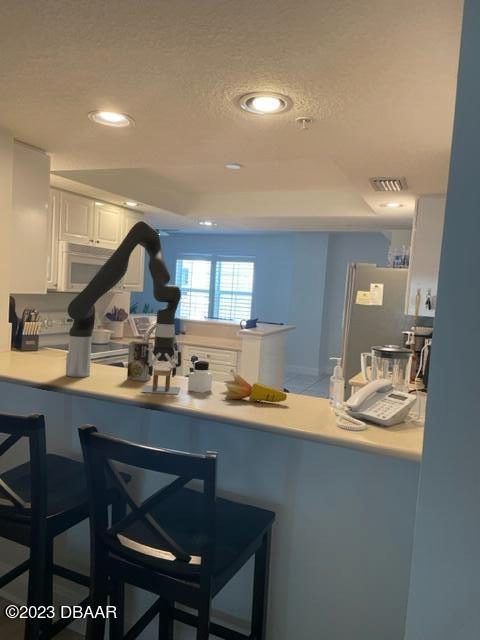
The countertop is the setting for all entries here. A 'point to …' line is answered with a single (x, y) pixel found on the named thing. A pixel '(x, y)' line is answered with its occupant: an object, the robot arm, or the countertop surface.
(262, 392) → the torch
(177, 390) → the mat
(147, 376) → the coffee box
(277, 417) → the countertop surface
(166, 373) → the stool
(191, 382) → the medicine bottle
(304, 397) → the countertop surface
